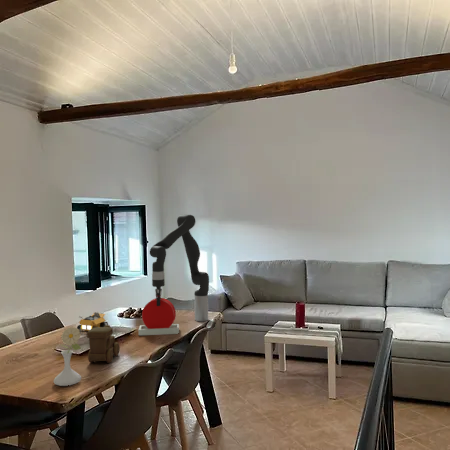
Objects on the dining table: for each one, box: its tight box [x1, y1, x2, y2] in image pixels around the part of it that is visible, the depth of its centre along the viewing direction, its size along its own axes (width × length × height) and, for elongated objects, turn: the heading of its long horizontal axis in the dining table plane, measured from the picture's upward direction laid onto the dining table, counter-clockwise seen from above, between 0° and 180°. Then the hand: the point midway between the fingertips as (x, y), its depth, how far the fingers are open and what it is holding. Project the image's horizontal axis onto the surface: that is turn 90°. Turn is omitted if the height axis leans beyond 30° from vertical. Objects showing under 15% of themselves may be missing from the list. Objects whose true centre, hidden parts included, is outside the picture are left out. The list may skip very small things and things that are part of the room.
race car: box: [76, 311, 109, 333], centre depth 282 cm, size 15×15×11 cm
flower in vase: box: [53, 326, 82, 387], centre depth 191 cm, size 13×11×25 cm
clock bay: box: [138, 323, 180, 336], centre depth 273 cm, size 10×24×4 cm, turn 96°
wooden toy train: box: [86, 324, 121, 364], centre depth 223 cm, size 20×11×17 cm, turn 176°
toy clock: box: [141, 297, 176, 329], centre depth 273 cm, size 20×6×20 cm, turn 86°
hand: (158, 304), depth 273 cm, fingers open, 8 cm apart
